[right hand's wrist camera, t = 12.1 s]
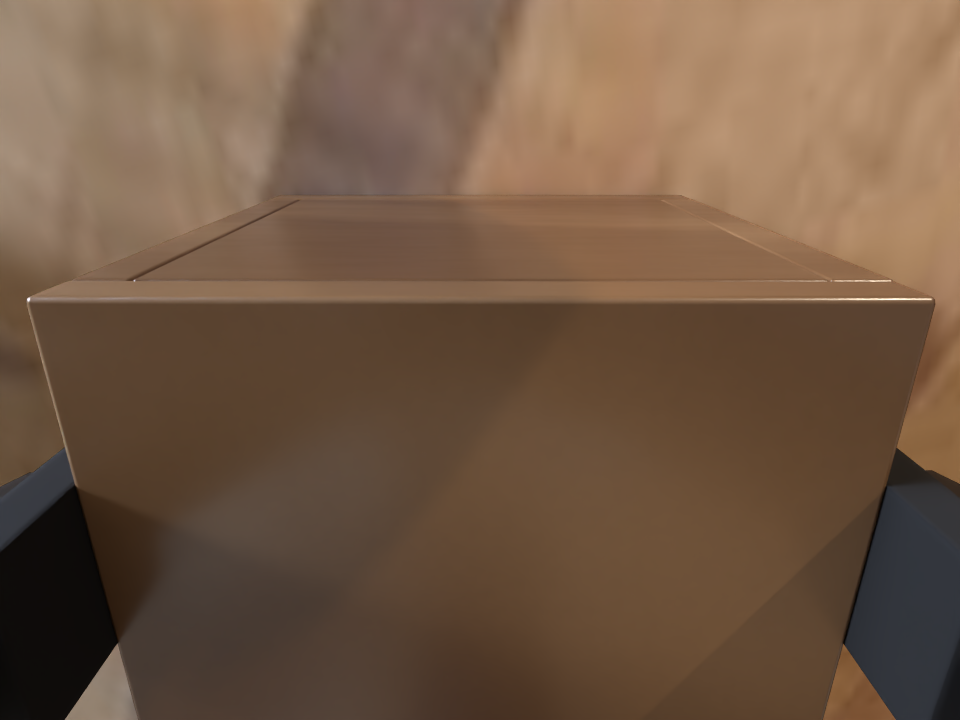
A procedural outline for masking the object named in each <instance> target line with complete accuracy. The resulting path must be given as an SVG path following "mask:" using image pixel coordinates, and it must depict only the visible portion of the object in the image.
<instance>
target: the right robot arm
mask: <svg viewBox="0 0 960 720" xmlns="http://www.w3.org/2000/svg"><path fill="white" fill-rule="evenodd" d="M116 644H117V639H116V635H115V631H114V628H113V624H112V620H111V617H110V613H109V609H108V605H107V602H106V598H105V594H104V591H103V587H102V583H101V579H100V576H99V572H98V568H97V565H96V561H95V557H94V553H93V550H92V546H91V542H90V539H89V535H88V531H87V527H86V524H85V520H84V516H83V513H82V509H81V505H80V501H79V498H78V494H77V490H76V486H75V483H74V479H73V475H72V472H71V468H70V464H69V460H68V457H67V453H66V449H65V448H63V449H62V450H61V451H60V452H58V453H57V454H56V455H54V456H53V457H52V458H51V459H49V460H48V461H47V462H46V463H44V464H43V465H42V466H41V467H39V468H38V469H37V470H36V471H34V472H33V473H28V474H26V475H24V476H22V477H19V478H17V479H15V480H13V481H11V482H9V483H7V484H5V485H3V486H1V487H0V720H65V718H66V717H67V716H68V714H69V713H70V711H71V710H72V708H73V707H74V705H75V704H76V703H77V701H78V700H79V698H80V697H81V695H82V694H83V692H84V691H85V689H86V688H87V687H88V685H89V684H90V682H91V681H92V679H93V678H94V676H95V675H96V674H97V672H98V671H99V669H100V668H101V666H102V665H103V663H104V662H105V660H106V659H107V658H108V656H109V655H110V653H111V652H112V650H113V649H114V647H115V646H116ZM844 645H845V646H846V648H847V649H848V651H849V652H850V654H851V655H852V657H853V658H854V659H855V661H856V662H857V664H858V665H859V667H860V668H861V670H862V671H863V672H864V674H865V675H866V677H867V678H868V680H869V681H870V683H871V684H872V686H873V687H874V688H875V690H876V691H877V693H878V694H879V696H880V697H881V699H882V700H883V701H884V703H885V704H886V706H887V707H888V709H889V710H890V712H891V713H892V715H893V716H894V717H895V719H896V720H960V484H959V483H957V482H955V481H953V480H951V479H949V478H946V477H944V476H942V475H940V474H938V473H936V472H934V471H932V470H924V469H923V468H921V467H920V466H919V465H918V464H916V463H915V462H914V461H913V460H911V459H910V458H909V457H908V456H906V455H905V454H904V453H903V452H901V451H900V450H899V449H897V448H896V451H895V455H894V458H893V462H892V466H891V469H890V473H889V477H888V481H887V484H886V488H885V492H884V495H883V499H882V503H881V506H880V510H879V514H878V517H877V521H876V525H875V529H874V532H873V536H872V540H871V543H870V547H869V551H868V554H867V558H866V562H865V565H864V569H863V573H862V577H861V580H860V584H859V588H858V591H857V595H856V599H855V602H854V606H853V610H852V613H851V617H850V621H849V625H848V628H847V632H846V636H845V639H844Z"/></svg>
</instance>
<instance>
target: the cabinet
mask: <svg viewBox="0 0 960 720" xmlns="http://www.w3.org/2000/svg"><path fill="white" fill-rule="evenodd" d="M26 304H27V308H28V312H29V316H30V319H31V323H32V327H33V330H34V334H35V338H36V342H37V345H38V349H39V353H40V356H41V360H42V364H43V368H44V371H45V375H46V379H47V382H48V386H49V390H50V394H51V397H52V401H53V405H54V408H55V412H56V416H57V420H58V423H59V427H60V431H61V434H62V438H63V442H64V446H65V449H66V453H67V457H68V460H69V464H70V468H71V472H72V475H73V479H74V483H75V486H76V490H77V494H78V498H79V501H80V505H81V509H82V513H83V516H84V520H85V524H86V527H87V531H88V535H89V539H90V542H91V546H92V550H93V553H94V557H95V561H96V565H97V568H98V572H99V576H100V579H101V583H102V587H103V591H104V594H105V598H106V602H107V605H108V609H109V613H110V617H111V620H112V624H113V628H114V631H115V635H116V639H117V643H118V646H119V650H120V654H121V657H122V661H123V665H124V669H125V672H126V676H127V680H128V683H129V687H130V691H131V695H132V698H133V702H134V706H135V709H136V713H137V717H138V720H823V717H824V713H825V709H826V706H827V702H828V698H829V695H830V691H831V687H832V684H833V680H834V676H835V672H836V669H837V665H838V661H839V658H840V654H841V650H842V647H843V643H844V639H845V636H846V632H847V628H848V625H849V621H850V617H851V613H852V610H853V606H854V602H855V599H856V595H857V591H858V588H859V584H860V580H861V577H862V573H863V569H864V565H865V562H866V558H867V554H868V551H869V547H870V543H871V540H872V536H873V532H874V529H875V525H876V521H877V517H878V514H879V510H880V506H881V503H882V499H883V495H884V492H885V488H886V484H887V481H888V477H889V473H890V469H891V466H892V462H893V458H894V455H895V451H896V447H897V444H898V440H899V436H900V433H901V429H902V425H903V422H904V418H905V414H906V410H907V407H908V403H909V399H910V396H911V392H912V388H913V385H914V381H915V377H916V374H917V370H918V366H919V362H920V359H921V355H922V351H923V348H924V344H925V340H926V337H927V333H928V329H929V326H930V322H931V318H932V314H933V311H934V307H935V299H934V298H933V297H931V296H928V295H926V294H923V293H921V292H918V291H916V290H914V289H911V288H909V287H906V286H904V285H901V284H899V283H896V282H893V280H891V279H889V278H886V277H884V276H881V275H879V274H876V273H874V272H871V271H869V270H866V269H864V268H861V267H859V266H856V265H854V264H851V263H849V262H847V261H844V260H842V259H839V258H837V257H834V256H832V255H829V254H827V253H824V252H822V251H819V250H817V249H814V248H812V247H809V246H807V245H804V244H802V243H799V242H797V241H794V240H792V239H789V238H787V237H784V236H782V235H779V234H777V233H774V232H772V231H770V230H767V229H765V228H762V227H760V226H757V225H755V224H752V223H750V222H747V221H745V220H742V219H740V218H737V217H735V216H732V215H730V214H727V213H725V212H722V211H720V210H717V209H715V208H712V207H710V206H707V205H705V204H702V203H700V202H697V201H695V200H693V199H689V198H686V197H684V196H681V195H280V196H277V197H275V198H272V199H270V200H267V201H265V202H262V203H260V204H258V205H255V206H253V207H250V208H248V209H245V210H243V211H240V212H238V213H235V214H233V215H230V216H228V217H225V218H223V219H220V220H218V221H215V222H213V223H211V224H208V225H206V226H203V227H201V228H198V229H196V230H193V231H191V232H188V233H186V234H183V235H181V236H178V237H176V238H173V239H171V240H168V241H166V242H164V243H161V244H159V245H156V246H154V247H151V248H149V249H146V250H144V251H141V252H139V253H136V254H134V255H131V256H129V257H126V258H124V259H121V260H119V261H117V262H114V263H112V264H109V265H107V266H104V267H102V268H99V269H97V270H94V271H92V272H89V273H87V274H84V275H82V276H79V277H77V278H75V279H73V280H72V281H66V282H64V283H61V284H59V285H56V286H54V287H51V288H49V289H47V290H44V291H42V292H39V293H37V294H34V295H32V296H30V297H28V298H27V302H26Z"/></svg>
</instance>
